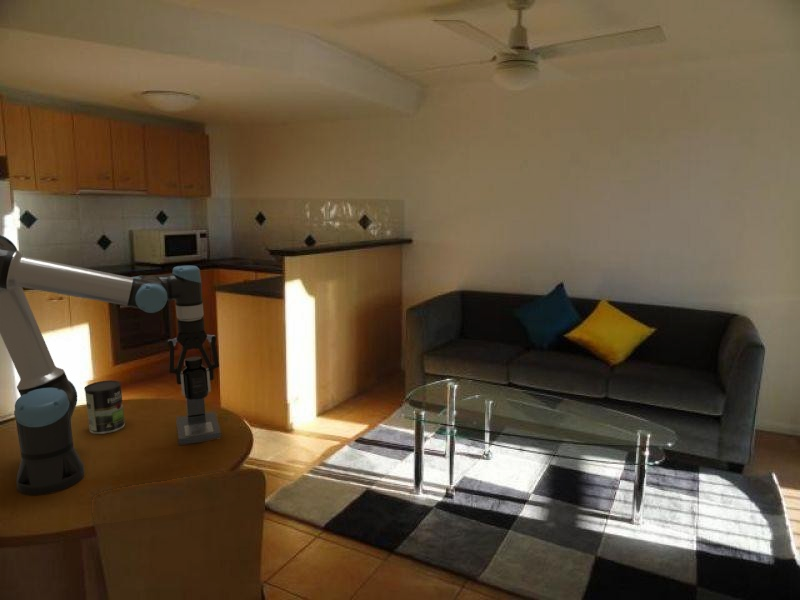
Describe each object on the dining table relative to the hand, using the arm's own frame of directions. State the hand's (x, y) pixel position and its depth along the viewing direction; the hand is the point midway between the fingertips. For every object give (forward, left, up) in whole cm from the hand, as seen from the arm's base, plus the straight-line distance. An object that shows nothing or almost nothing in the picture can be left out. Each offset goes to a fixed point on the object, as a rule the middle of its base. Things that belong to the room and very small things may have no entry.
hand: (196, 391), depth 174 cm
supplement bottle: (0, 0, -2) cm, 2 cm away
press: (+4, 0, -14) cm, 15 cm away
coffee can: (+18, +27, -14) cm, 35 cm away
